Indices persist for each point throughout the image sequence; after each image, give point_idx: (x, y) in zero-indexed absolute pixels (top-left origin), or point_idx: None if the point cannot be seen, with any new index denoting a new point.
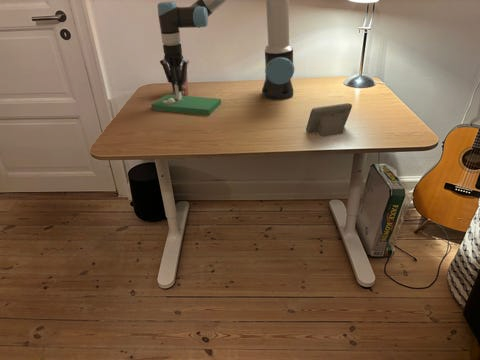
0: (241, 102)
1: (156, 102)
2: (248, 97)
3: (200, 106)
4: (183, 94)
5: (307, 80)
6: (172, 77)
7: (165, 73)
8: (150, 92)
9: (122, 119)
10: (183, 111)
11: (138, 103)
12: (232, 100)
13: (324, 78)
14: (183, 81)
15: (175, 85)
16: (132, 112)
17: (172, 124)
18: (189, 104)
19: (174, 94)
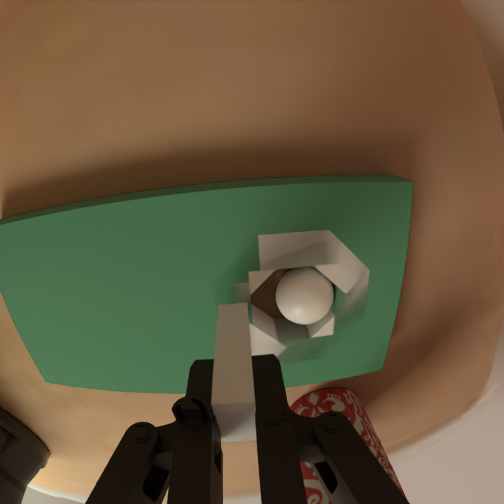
0: (20, 383)
1: (396, 228)
2: (42, 420)
3: (36, 261)
4: (298, 409)
5: (47, 483)
6: (279, 482)
7: (401, 500)
8: (462, 369)
9: (451, 15)
10: (132, 194)
11: (487, 244)
12: (56, 399)
13: (35, 483)
14: (124, 444)
15: (238, 397)
16: (468, 112)
17: (107, 9)
18: (116, 272)
19: (349, 395)
